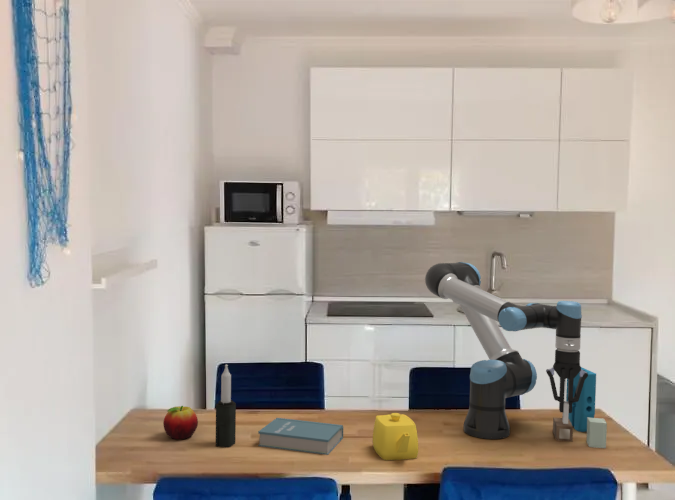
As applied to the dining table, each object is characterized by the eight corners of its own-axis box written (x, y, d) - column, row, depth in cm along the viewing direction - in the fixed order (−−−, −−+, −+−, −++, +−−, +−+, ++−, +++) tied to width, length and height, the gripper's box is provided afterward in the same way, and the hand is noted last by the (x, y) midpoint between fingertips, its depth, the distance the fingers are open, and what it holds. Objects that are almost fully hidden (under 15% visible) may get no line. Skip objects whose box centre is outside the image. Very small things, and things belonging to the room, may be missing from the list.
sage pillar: (589, 447, 206) (590, 421, 205) (586, 441, 210) (587, 417, 210) (605, 448, 205) (606, 423, 204) (602, 443, 209) (603, 418, 209)
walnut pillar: (556, 425, 211) (553, 417, 220) (556, 440, 211) (552, 432, 220) (573, 426, 210) (568, 418, 219) (572, 442, 210) (568, 433, 219)
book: (258, 447, 201) (258, 431, 201) (277, 431, 216) (278, 416, 216) (327, 456, 194) (328, 439, 194) (343, 439, 210) (343, 424, 210)
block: (595, 433, 219) (597, 374, 219) (581, 433, 219) (583, 374, 218) (577, 422, 231) (579, 366, 230) (564, 422, 231) (566, 366, 230)
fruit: (204, 436, 209) (204, 405, 208) (175, 444, 201) (175, 412, 200) (185, 428, 216) (185, 399, 216) (156, 436, 208) (156, 405, 208)
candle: (236, 442, 203) (237, 363, 202) (228, 448, 199) (229, 366, 198) (222, 440, 205) (223, 362, 204) (214, 445, 200) (214, 365, 199)
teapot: (426, 464, 188) (427, 424, 188) (385, 466, 186) (386, 426, 185) (405, 441, 208) (405, 404, 207) (367, 443, 205) (368, 406, 205)
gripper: (547, 350, 206) (545, 424, 207) (591, 353, 203) (588, 427, 204) (545, 346, 214) (542, 417, 215) (587, 348, 211) (584, 420, 212)
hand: (565, 422), depth 210 cm, fingers closed
